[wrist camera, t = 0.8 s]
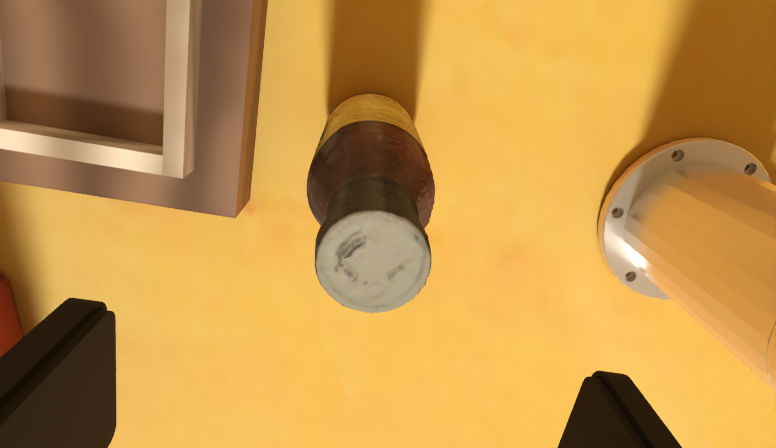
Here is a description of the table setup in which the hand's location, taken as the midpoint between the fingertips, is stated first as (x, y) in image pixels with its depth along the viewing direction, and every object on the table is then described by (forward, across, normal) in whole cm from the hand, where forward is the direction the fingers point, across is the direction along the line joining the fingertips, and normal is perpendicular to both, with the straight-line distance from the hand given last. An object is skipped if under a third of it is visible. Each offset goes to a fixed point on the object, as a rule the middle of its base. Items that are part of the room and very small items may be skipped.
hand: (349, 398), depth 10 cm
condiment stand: (+27, +17, -3) cm, 32 cm away
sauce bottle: (+27, 0, 0) cm, 27 cm away
